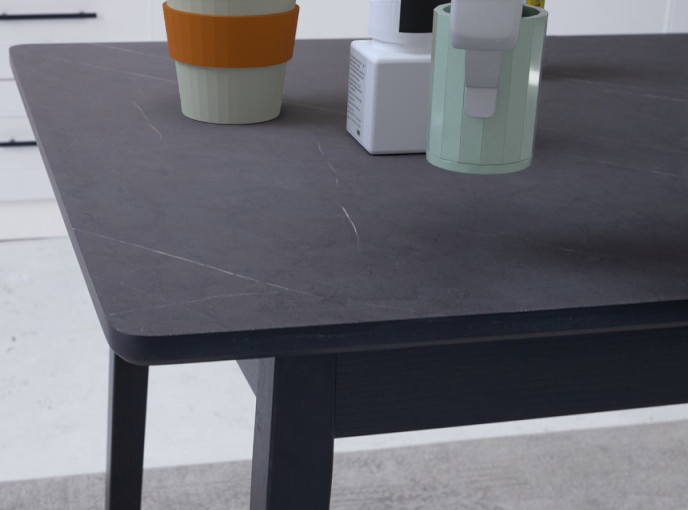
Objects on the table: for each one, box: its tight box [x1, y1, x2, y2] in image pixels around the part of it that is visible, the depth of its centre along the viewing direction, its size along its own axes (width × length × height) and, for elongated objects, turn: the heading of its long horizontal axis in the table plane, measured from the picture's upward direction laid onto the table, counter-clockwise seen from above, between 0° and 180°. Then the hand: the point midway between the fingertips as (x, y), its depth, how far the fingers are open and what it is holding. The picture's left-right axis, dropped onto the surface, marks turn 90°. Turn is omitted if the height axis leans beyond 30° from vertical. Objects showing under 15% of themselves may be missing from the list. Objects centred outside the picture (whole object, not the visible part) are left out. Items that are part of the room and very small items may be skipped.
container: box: [346, 0, 451, 155], centre depth 95 cm, size 8×8×13 cm
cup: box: [425, 3, 549, 176], centre depth 70 cm, size 7×7×9 cm
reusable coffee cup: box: [162, 0, 301, 125], centre depth 102 cm, size 13×13×15 cm
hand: (482, 99), depth 71 cm, fingers closed on cup, 7 cm apart
